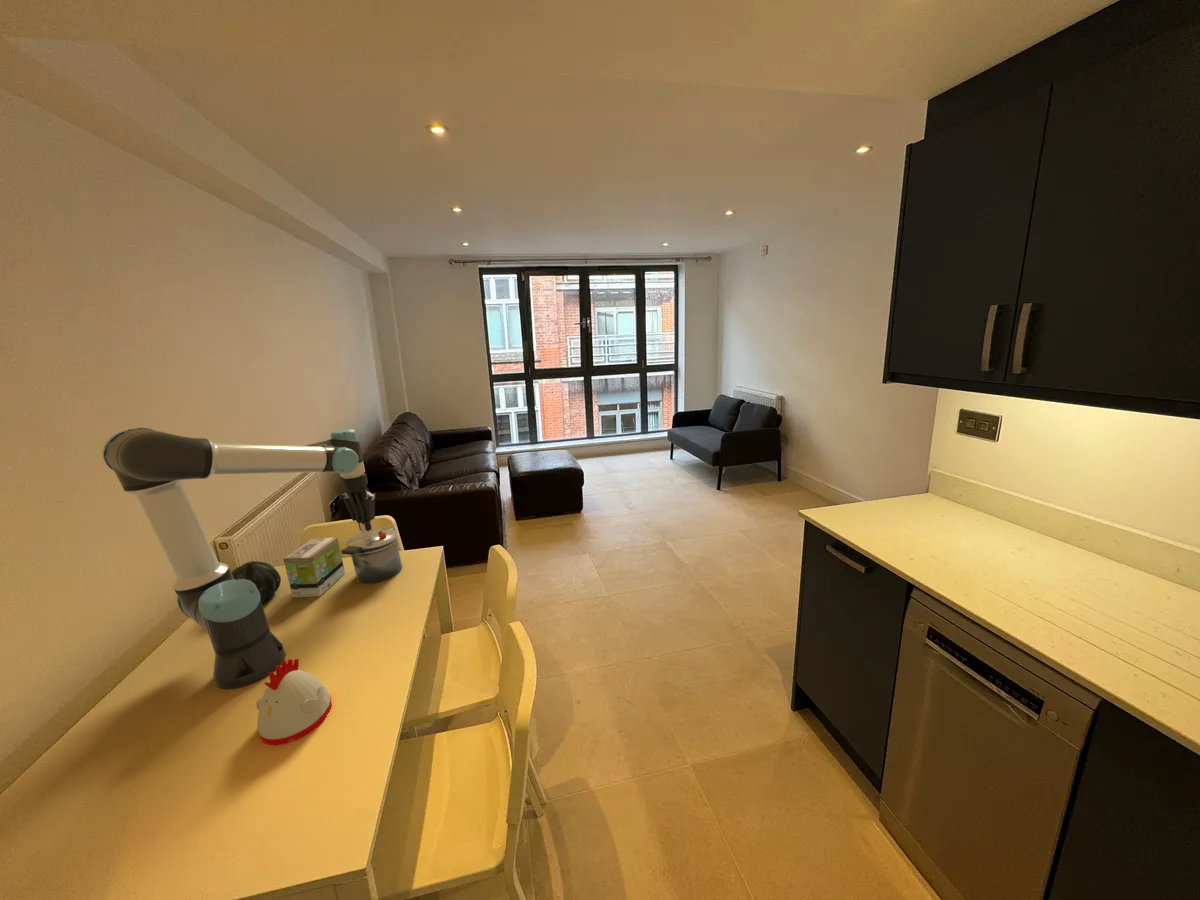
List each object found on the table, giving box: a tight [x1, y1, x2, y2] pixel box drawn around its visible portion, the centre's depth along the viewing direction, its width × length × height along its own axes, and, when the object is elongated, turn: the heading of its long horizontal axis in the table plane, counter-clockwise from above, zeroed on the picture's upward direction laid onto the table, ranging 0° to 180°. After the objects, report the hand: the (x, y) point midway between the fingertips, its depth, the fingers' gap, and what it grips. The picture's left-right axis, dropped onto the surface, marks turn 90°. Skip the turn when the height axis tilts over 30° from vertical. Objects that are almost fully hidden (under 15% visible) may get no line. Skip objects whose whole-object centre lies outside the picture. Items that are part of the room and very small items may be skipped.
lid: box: [340, 527, 398, 556], centre depth 161 cm, size 20×16×4 cm
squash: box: [231, 560, 282, 603], centre depth 152 cm, size 14×15×15 cm
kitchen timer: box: [256, 658, 333, 746], centre depth 102 cm, size 14×14×15 cm
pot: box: [351, 530, 403, 585], centre depth 165 cm, size 17×16×12 cm
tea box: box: [283, 537, 346, 598], centre depth 158 cm, size 15×10×15 cm, turn 179°
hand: (367, 538), depth 160 cm, fingers closed
